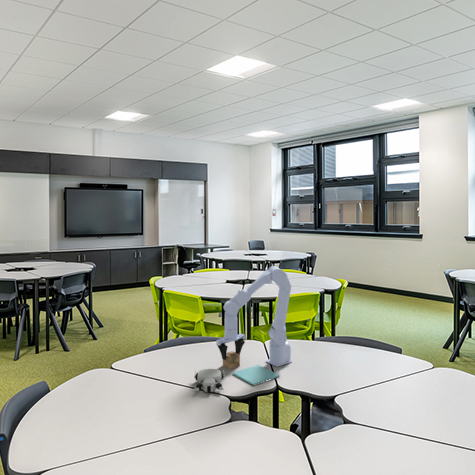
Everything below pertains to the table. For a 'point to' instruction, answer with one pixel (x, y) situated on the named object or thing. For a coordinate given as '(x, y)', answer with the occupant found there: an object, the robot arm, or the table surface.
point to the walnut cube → (232, 360)
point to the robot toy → (209, 379)
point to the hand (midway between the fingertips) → (231, 357)
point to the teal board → (255, 374)
